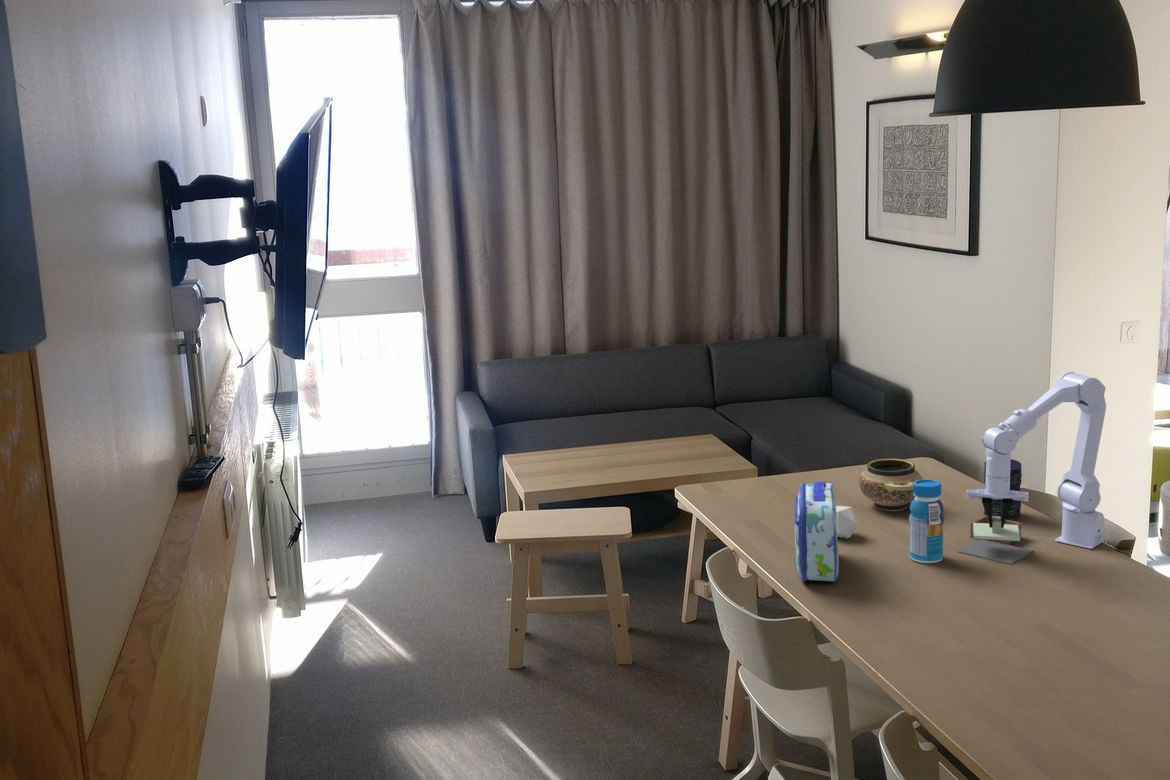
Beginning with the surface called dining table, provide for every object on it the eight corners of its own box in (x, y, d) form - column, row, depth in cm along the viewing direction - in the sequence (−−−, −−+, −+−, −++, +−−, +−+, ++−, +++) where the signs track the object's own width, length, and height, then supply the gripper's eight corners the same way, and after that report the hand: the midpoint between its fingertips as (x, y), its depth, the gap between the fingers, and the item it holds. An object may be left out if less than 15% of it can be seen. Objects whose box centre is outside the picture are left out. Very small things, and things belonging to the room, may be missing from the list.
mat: (1033, 551, 274) (1033, 550, 274) (1011, 564, 266) (1011, 563, 266) (981, 539, 284) (981, 538, 284) (958, 552, 276) (958, 551, 276)
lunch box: (795, 550, 284) (794, 473, 280) (837, 551, 282) (837, 473, 277) (794, 587, 259) (793, 504, 255) (840, 589, 257) (840, 505, 252)
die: (861, 534, 295) (844, 502, 298) (866, 528, 286) (848, 495, 289) (833, 547, 294) (816, 515, 298) (837, 542, 286) (819, 508, 289)
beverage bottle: (905, 561, 272) (906, 485, 267) (912, 550, 279) (913, 476, 275) (940, 566, 268) (941, 488, 264) (946, 554, 275) (947, 479, 271)
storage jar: (1022, 521, 296) (1023, 470, 292) (983, 520, 299) (984, 469, 296) (1019, 508, 305) (1020, 458, 302) (982, 507, 308) (983, 457, 305)
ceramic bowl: (856, 504, 327) (844, 458, 324) (913, 486, 327) (901, 441, 323) (880, 530, 303) (867, 482, 300) (941, 512, 303) (929, 463, 299)
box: (1020, 537, 284) (1021, 522, 284) (1006, 545, 279) (1007, 530, 278) (984, 529, 292) (985, 515, 291) (970, 537, 286) (970, 523, 286)
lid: (1017, 530, 277) (1018, 514, 276) (1020, 543, 269) (1020, 526, 268) (973, 527, 280) (973, 511, 279) (974, 540, 272) (974, 524, 271)
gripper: (1027, 471, 273) (1025, 523, 275) (966, 469, 277) (965, 520, 280) (1029, 479, 266) (1028, 532, 269) (967, 477, 271) (966, 528, 273)
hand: (996, 526), depth 274 cm, fingers closed on lid, 2 cm apart
